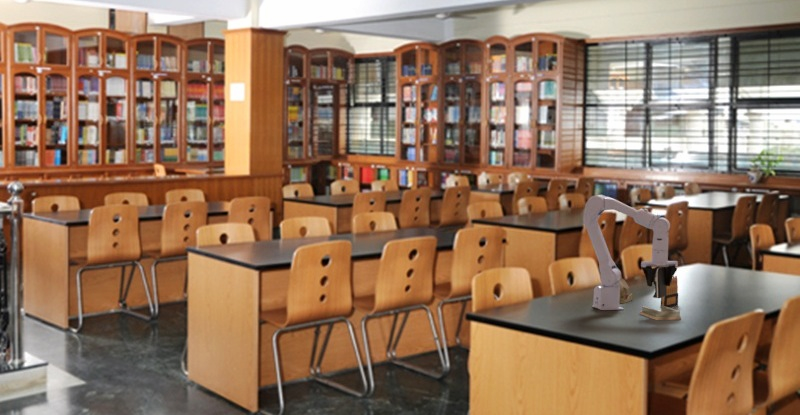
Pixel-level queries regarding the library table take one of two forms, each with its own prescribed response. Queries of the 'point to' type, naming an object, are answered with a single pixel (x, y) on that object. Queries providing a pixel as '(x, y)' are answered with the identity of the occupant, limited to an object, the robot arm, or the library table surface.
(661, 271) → the battery
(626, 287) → the ceramic model
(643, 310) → the battery dock
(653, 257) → the robot arm
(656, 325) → the library table surface
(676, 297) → the ammunition clip
